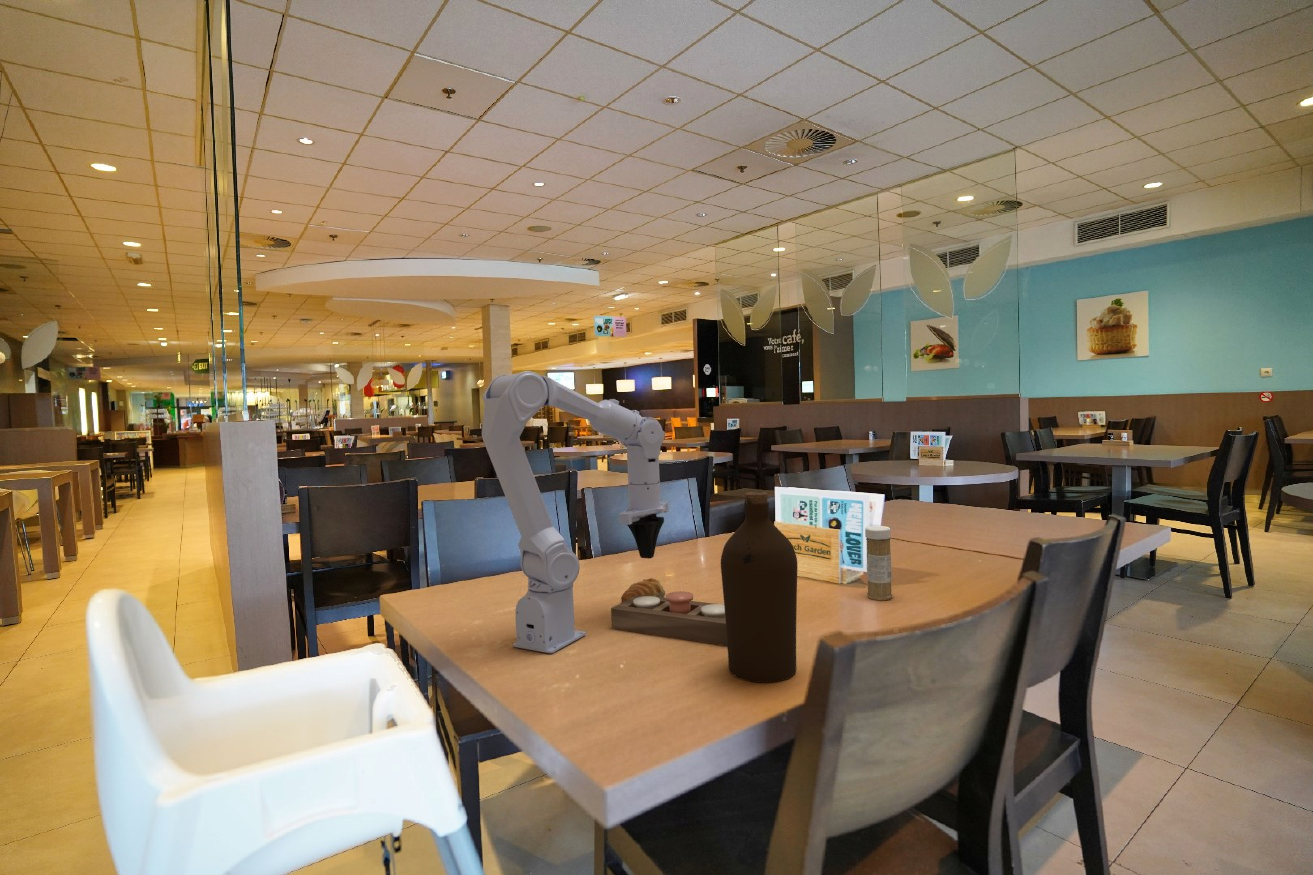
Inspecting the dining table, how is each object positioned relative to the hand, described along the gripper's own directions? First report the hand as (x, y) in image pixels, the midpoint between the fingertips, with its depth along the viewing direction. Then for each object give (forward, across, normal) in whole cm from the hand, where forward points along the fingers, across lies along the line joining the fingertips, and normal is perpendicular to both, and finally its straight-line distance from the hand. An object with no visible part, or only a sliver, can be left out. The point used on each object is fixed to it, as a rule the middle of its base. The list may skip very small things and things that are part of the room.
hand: (647, 557), depth 119 cm
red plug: (+9, -5, -9) cm, 13 cm away
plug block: (+10, -5, -9) cm, 15 cm away
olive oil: (+11, -16, -28) cm, 34 cm away
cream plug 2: (+10, -5, -16) cm, 19 cm away
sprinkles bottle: (+11, +25, -36) cm, 45 cm away
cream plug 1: (+10, -5, -3) cm, 12 cm away
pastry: (+11, +7, +6) cm, 14 cm away
